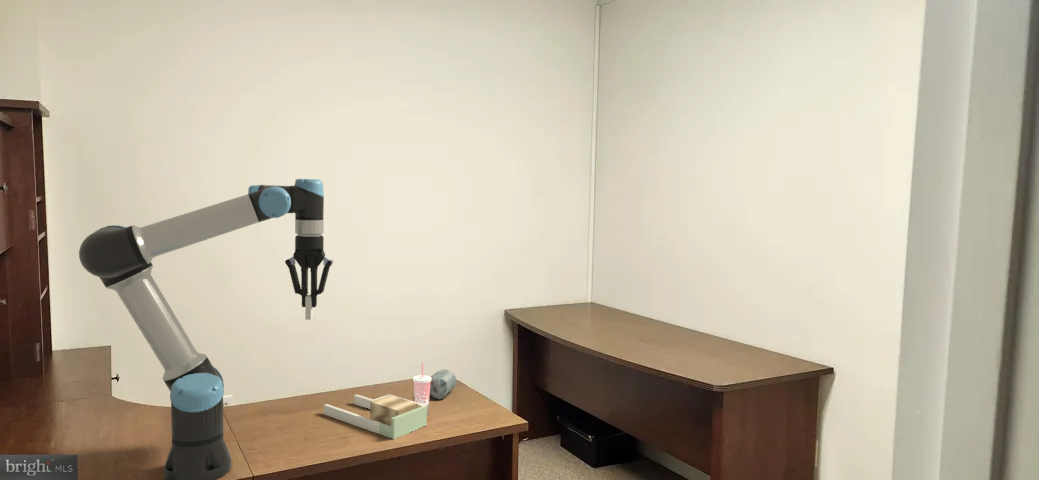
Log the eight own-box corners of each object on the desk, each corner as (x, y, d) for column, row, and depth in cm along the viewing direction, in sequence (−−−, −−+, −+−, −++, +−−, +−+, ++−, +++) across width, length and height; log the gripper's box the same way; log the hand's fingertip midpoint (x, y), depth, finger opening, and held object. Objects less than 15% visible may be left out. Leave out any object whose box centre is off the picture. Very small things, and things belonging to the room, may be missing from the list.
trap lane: (323, 414, 209) (323, 395, 209) (373, 397, 226) (373, 380, 225) (393, 439, 191) (394, 418, 191) (442, 419, 208) (442, 400, 207)
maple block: (370, 426, 201) (370, 401, 201) (389, 418, 208) (390, 395, 207) (398, 435, 194) (398, 410, 194) (417, 428, 201) (418, 403, 200)
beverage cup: (433, 406, 219) (433, 364, 218) (414, 408, 217) (415, 366, 216) (428, 400, 225) (429, 359, 224) (410, 402, 223) (411, 361, 222)
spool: (449, 394, 222) (440, 365, 225) (425, 404, 225) (416, 375, 227) (466, 392, 235) (457, 365, 238) (443, 401, 237) (434, 374, 240)
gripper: (336, 234, 190) (335, 316, 192) (288, 233, 189) (289, 315, 191) (330, 236, 182) (330, 321, 185) (281, 235, 181) (281, 321, 184)
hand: (309, 318), depth 188 cm, fingers closed
